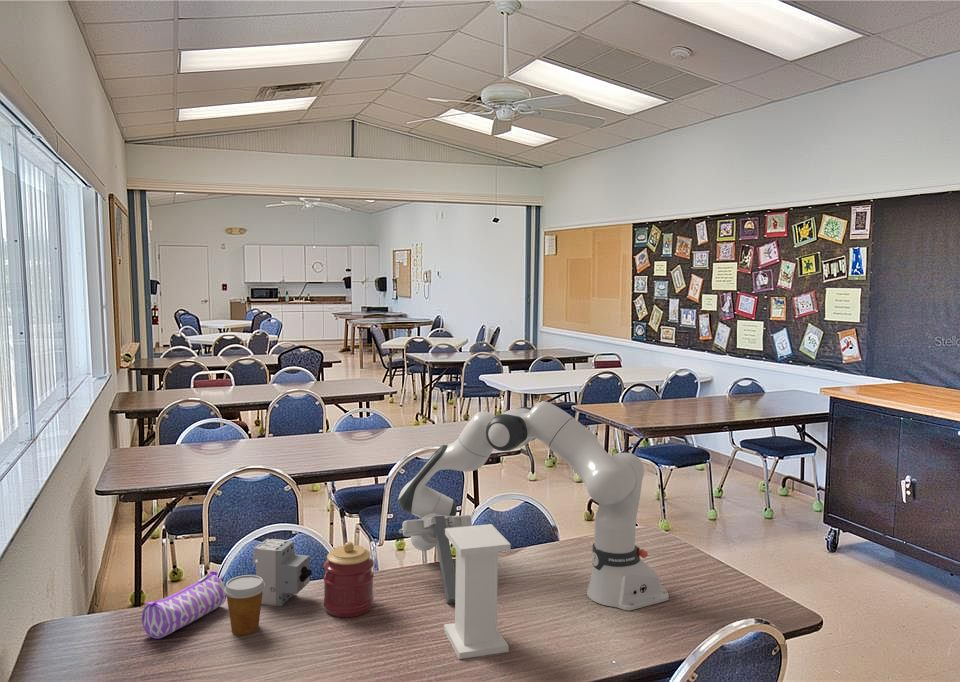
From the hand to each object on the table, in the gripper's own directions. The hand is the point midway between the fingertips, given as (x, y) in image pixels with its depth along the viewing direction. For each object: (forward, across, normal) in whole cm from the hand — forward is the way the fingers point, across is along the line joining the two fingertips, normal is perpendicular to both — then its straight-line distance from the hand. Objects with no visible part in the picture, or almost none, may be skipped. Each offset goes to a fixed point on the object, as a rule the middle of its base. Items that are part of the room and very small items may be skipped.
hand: (442, 520), depth 200 cm
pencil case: (-7, -67, +18) cm, 70 cm away
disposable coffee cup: (0, -53, +22) cm, 58 cm away
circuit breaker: (-12, -43, +15) cm, 47 cm away
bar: (-3, 0, +10) cm, 11 cm away
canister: (-4, -27, +20) cm, 34 cm away
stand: (+18, 0, +33) cm, 37 cm away
